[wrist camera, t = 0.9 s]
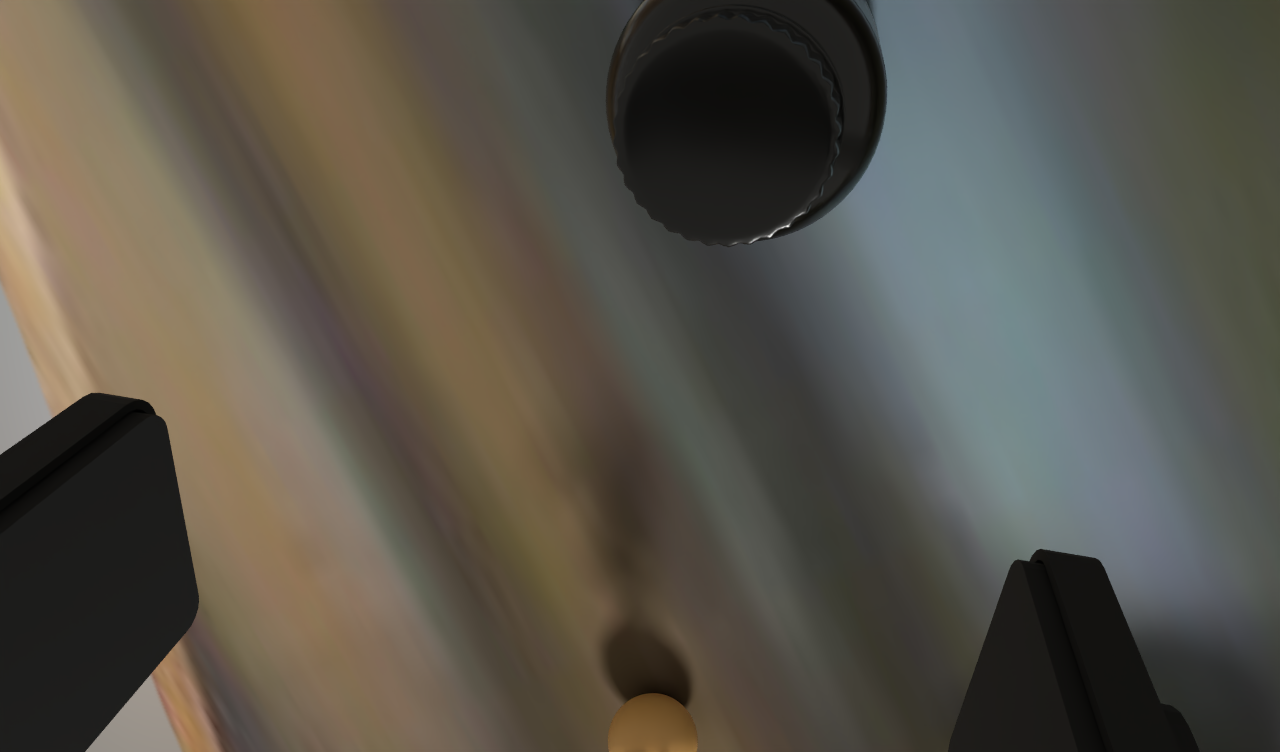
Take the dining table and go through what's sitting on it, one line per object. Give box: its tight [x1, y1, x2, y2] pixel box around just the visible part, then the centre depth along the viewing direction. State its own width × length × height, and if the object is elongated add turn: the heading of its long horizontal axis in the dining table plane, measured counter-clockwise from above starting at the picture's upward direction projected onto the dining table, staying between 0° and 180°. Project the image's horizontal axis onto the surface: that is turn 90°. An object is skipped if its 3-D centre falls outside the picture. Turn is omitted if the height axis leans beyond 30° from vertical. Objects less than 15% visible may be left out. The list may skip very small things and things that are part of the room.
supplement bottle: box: [606, 0, 887, 247], centre depth 25 cm, size 7×7×12 cm
